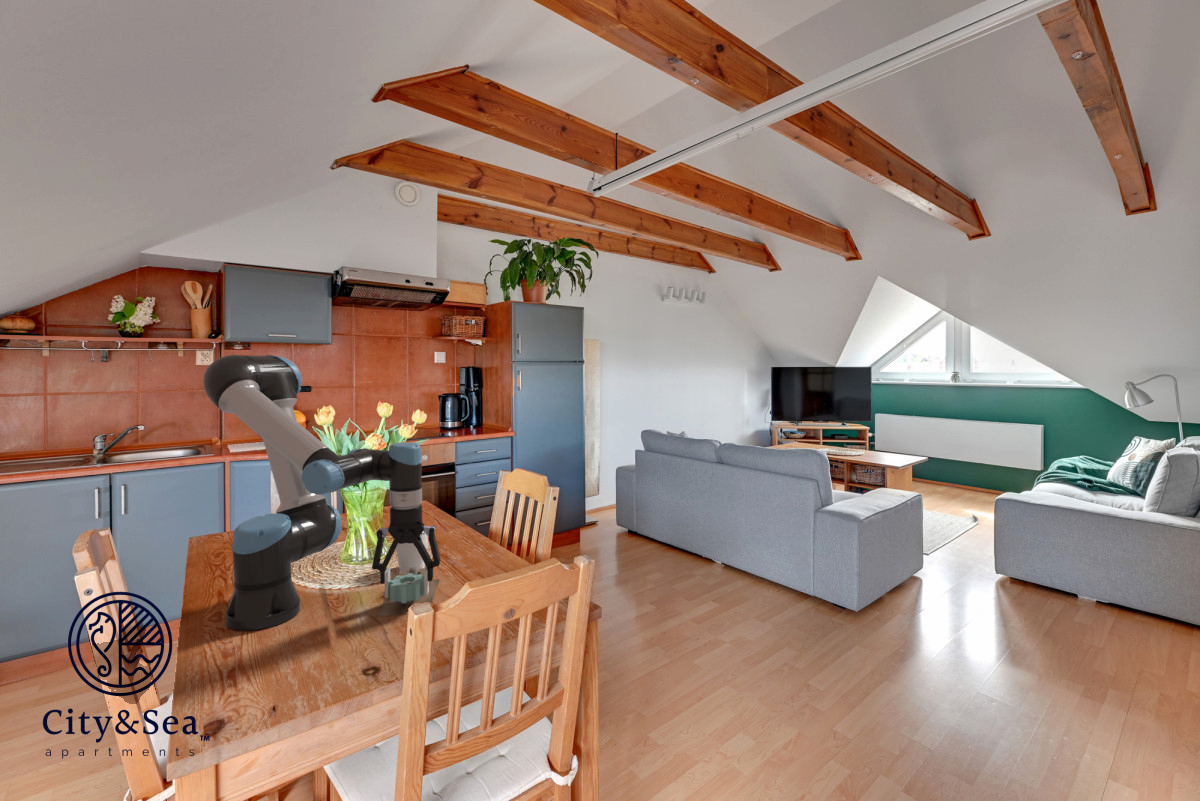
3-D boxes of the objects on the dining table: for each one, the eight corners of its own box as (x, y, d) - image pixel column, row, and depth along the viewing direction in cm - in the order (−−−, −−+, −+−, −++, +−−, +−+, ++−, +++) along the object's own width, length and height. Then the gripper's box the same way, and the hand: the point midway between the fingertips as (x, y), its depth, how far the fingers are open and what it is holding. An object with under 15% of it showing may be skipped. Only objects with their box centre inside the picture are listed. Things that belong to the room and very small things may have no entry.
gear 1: (400, 598, 135) (399, 583, 135) (393, 586, 142) (393, 571, 142) (434, 591, 139) (434, 576, 139) (426, 579, 147) (425, 565, 146)
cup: (417, 580, 149) (417, 538, 149) (389, 577, 151) (388, 536, 150) (434, 568, 158) (433, 529, 157) (406, 565, 160) (406, 526, 159)
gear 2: (393, 589, 135) (392, 574, 135) (427, 587, 137) (427, 572, 136) (385, 604, 127) (384, 587, 126) (422, 601, 128) (422, 585, 128)
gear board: (376, 620, 126) (375, 593, 125) (394, 585, 145) (394, 562, 145) (428, 617, 128) (428, 590, 127) (439, 583, 147) (439, 560, 147)
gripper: (355, 511, 125) (357, 603, 126) (448, 508, 128) (449, 598, 130) (364, 503, 132) (366, 590, 134) (452, 500, 136) (453, 585, 137)
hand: (407, 594), depth 132 cm, fingers closed on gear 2, 9 cm apart
